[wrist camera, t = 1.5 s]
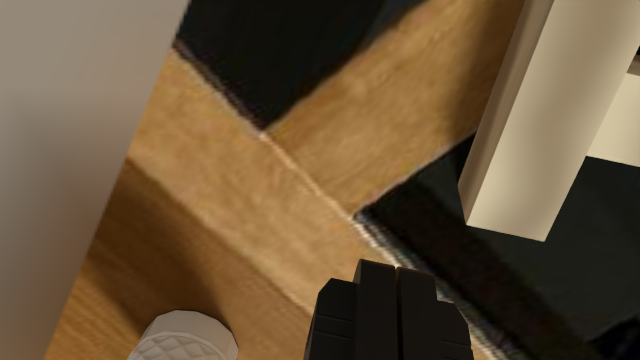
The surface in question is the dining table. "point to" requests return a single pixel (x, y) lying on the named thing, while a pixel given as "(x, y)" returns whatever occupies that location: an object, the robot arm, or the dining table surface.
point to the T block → (554, 112)
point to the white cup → (185, 339)
